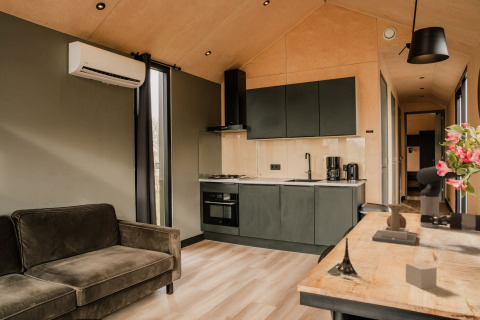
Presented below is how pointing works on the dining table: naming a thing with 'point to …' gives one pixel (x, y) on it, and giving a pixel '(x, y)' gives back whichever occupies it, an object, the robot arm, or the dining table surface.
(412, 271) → the beige cube
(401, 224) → the onion
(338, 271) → the eiffel tower figurine
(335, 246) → the dining table surface
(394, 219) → the handle
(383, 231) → the square socket base
